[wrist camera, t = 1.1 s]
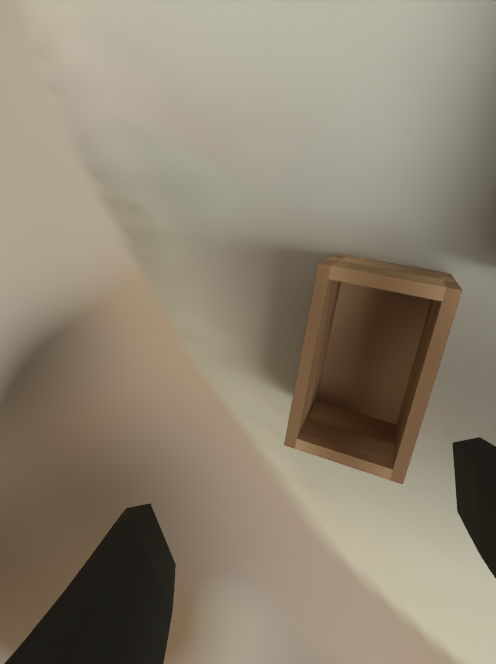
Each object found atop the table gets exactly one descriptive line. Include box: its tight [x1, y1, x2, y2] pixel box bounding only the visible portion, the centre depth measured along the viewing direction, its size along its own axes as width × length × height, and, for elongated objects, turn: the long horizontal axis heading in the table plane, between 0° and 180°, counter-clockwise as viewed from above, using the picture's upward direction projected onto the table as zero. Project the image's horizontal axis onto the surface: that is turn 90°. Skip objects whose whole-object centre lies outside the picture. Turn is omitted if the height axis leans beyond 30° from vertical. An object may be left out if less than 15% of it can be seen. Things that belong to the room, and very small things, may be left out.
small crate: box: [284, 254, 462, 484], centre depth 18 cm, size 5×8×4 cm, turn 173°
